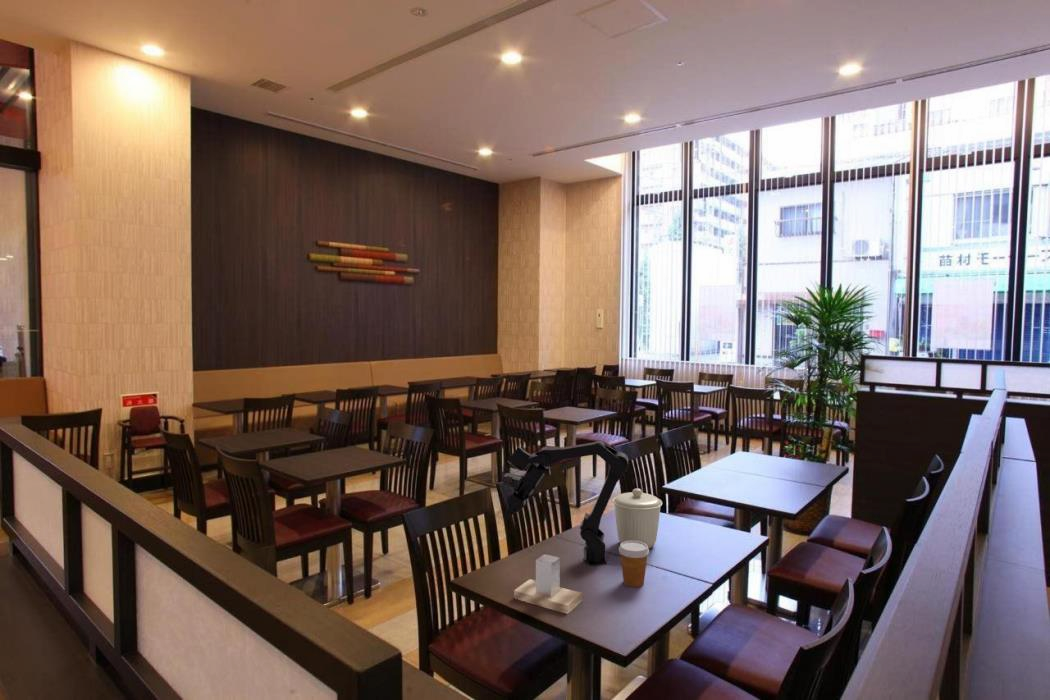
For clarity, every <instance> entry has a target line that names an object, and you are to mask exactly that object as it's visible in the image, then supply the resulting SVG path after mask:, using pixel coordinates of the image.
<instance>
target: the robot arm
mask: <svg viewBox="0 0 1050 700" xmlns="http://www.w3.org/2000/svg"><path fill="white" fill-rule="evenodd" d="M594 455H596V456H598V457H600V458H601V460H603V461H604V462H605V463H606V464H608V465H609V467H608V473H607V476H606V478H605V481H604V483H603V486H602V488H601V490H600V492H599V494H598V497H597V499H596V501H595V503H594V506H593V507H592V510H591V511H590V513H589V514H588V513H587V512H585V514H584V516H583V519H582V521H581V522H580V525H579V530H580V532H579V533H580V538H582V540H583V541H585V542H584V547H583V560H584V561H586V563H587V565H589V566H593V565H601V564H604V565H605V564H607V563H608V561H607V560H606V543H605V542H604V538H605V533H604V532H603V531H602V530H601V529H600V525H601V519H602V517H603V515H604V513H605V511H606V508H607V505H608V503H609V501H610V499H611V497H612V494H613V492H614V490H615V487H616V485H617V483H618V482H619V481H620V479H621V478H622V477H623V476H624V475H625V473H626V472H627V470H628V467H629V457H628V455H627V454H626V453H624V452H621V451H618V450H616V449H614V448H613V447H611V446H610V445H607V444H606V443H605V442H604V441H601V440H597V441H594V442H587V443H582V444H574V445H569V446H556V445H555V446H554V445H551V446H550V445H549V446H547V445H546V446H543V447H542V448H541V449H540V450H539V451H536V452H533V453H529V452H527V451H526V450H525V449H523V447H521V446H518V447H516V449H515V451H514V452H513V453H512V454H511V456H510V457H509V459H507V463H508V464H510V465H512V467H513V468H516V469H517V470H518V471H519V472H522V471H525V470H526V469H527V470H526V471H525V472H524V474H522V476H518V475H515V474H512V473H509V472H507V473H505V474H504V475H503V477H502V482H501V485H502V486H507V487H511V488H513V489H512V490H513V491H511V492H510V493H509V495H508V496H507V498H506V502H507V507H506V510H505V512H504V515H503V518H504V519H506V520H507V519H508V518H510V517H512V516H514V515H515V514H517V513H519V512H520V511H522V510H523V508H524V507H525V505H526V503H527V502H526V501H527V500H528V499H529V498H530V497H531V495H532V494H533V492H534V490H535V489H536V488H537V485H538V484H539V483H540V481H541V479H543V477H544V475H545V476H547V477H550V476H551V474H552V472H551V467H550V466H552V465H554V464H558V463H559V462H562V461H564V460H568V459H569V460H570V459H574V458H575V459H577V458H583V457H588V456H594ZM529 464H530V465H529ZM528 466H529V467H528ZM527 467H528V468H527Z"/></svg>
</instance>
